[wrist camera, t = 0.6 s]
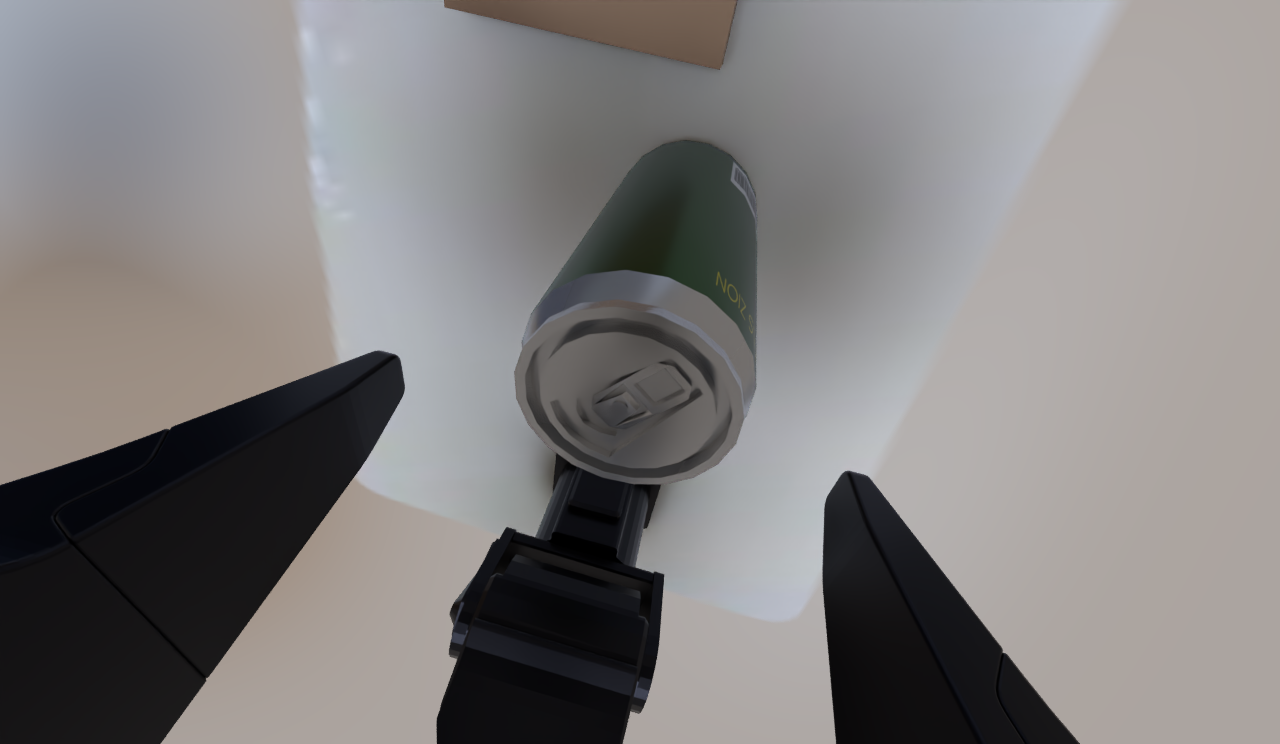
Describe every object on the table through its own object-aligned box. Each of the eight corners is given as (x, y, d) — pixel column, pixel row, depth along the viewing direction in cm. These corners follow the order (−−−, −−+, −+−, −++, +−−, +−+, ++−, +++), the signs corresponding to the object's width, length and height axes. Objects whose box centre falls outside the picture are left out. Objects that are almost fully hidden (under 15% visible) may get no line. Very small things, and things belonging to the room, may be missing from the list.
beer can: (705, 102, 17) (644, 238, 8) (783, 224, 19) (806, 444, 10) (595, 192, 20) (455, 373, 11) (674, 291, 22) (613, 514, 13)
